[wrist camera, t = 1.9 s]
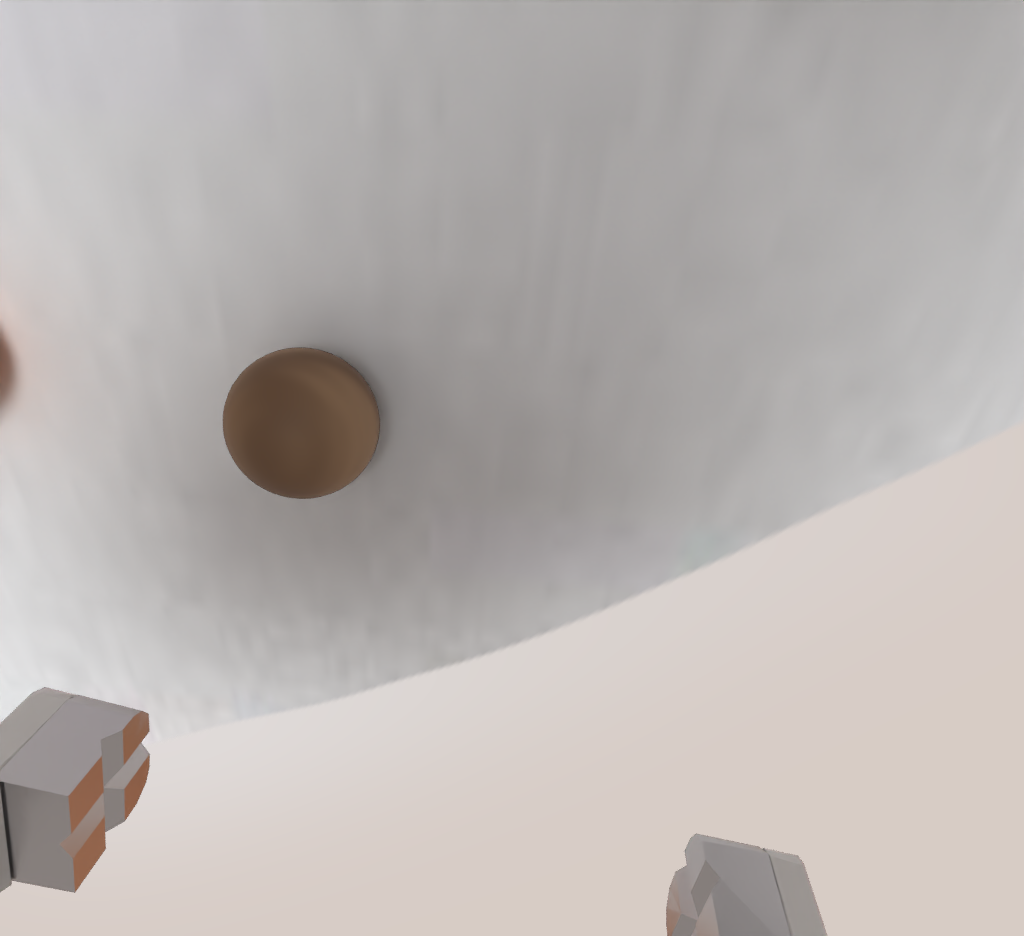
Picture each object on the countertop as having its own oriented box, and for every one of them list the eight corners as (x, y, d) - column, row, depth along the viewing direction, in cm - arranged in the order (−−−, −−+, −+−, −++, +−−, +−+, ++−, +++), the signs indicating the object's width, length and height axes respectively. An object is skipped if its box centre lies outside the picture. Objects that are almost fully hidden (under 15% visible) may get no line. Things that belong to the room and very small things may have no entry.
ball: (399, 342, 25) (356, 384, 20) (392, 472, 27) (351, 536, 23) (260, 322, 25) (186, 359, 21) (264, 452, 27) (197, 512, 23)
